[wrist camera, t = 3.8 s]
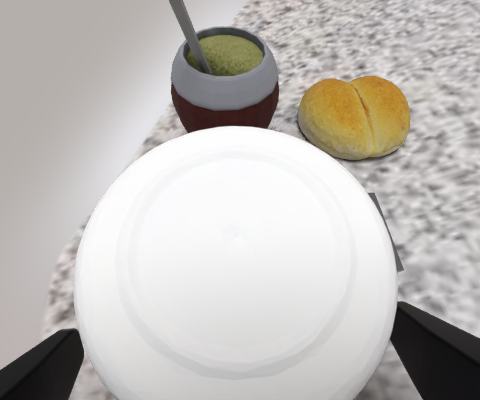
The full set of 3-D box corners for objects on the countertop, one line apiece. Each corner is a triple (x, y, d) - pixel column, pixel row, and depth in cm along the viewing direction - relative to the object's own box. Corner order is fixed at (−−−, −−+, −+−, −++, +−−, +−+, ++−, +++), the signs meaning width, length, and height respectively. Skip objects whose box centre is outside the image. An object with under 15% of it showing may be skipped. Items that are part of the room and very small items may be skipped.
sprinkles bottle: (259, 269, 17) (319, 94, 5) (284, 347, 15) (503, 372, 3) (189, 290, 16) (62, 143, 4) (206, 374, 14) (42, 568, 2)
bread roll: (288, 99, 25) (297, 60, 21) (376, 95, 25) (399, 56, 22) (306, 168, 21) (321, 133, 17) (411, 161, 21) (446, 126, 18)
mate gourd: (264, 113, 24) (302, -174, 10) (274, 186, 20) (353, -122, 7) (182, 115, 23) (115, -179, 10) (176, 189, 19) (56, -127, 6)
